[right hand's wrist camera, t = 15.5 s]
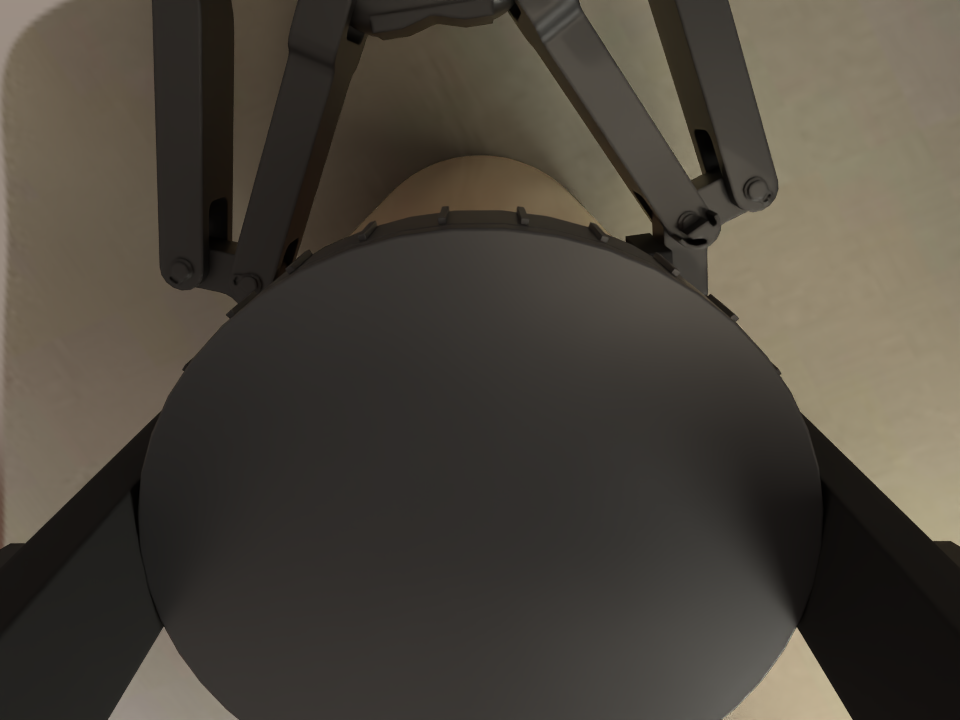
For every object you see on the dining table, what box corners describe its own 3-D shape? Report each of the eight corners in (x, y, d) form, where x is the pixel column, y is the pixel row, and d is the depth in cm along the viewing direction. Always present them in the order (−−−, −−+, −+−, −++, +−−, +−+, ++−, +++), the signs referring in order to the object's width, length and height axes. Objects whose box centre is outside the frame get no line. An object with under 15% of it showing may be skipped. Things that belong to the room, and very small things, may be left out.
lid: (903, 328, 11) (970, 364, 9) (638, 781, 15) (656, 859, 13) (243, 102, 10) (201, 103, 8) (135, 658, 13) (92, 729, 12)
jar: (641, 203, 26) (906, 373, 10) (551, 422, 29) (639, 815, 13) (396, 117, 25) (240, 150, 9) (331, 354, 28) (132, 694, 12)
